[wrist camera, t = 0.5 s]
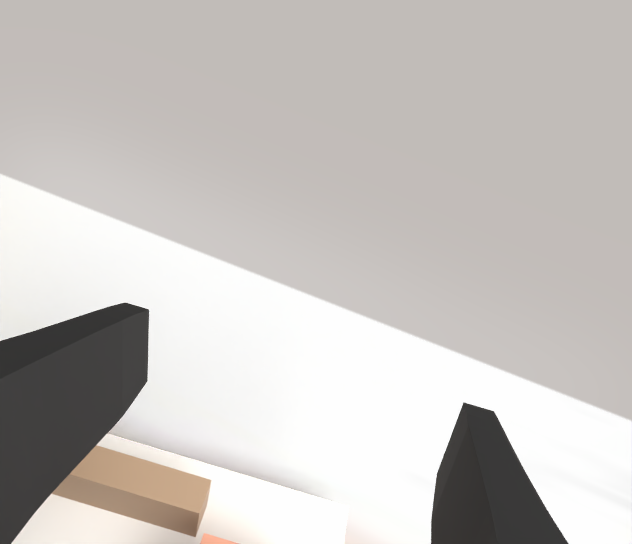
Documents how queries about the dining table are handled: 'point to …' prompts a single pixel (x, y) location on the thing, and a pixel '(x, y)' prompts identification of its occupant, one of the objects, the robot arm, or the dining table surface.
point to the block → (214, 540)
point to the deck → (175, 504)
